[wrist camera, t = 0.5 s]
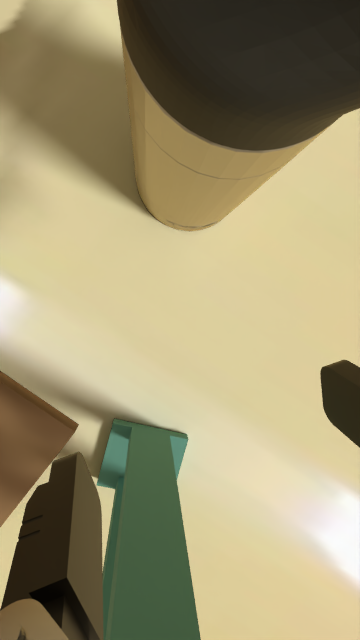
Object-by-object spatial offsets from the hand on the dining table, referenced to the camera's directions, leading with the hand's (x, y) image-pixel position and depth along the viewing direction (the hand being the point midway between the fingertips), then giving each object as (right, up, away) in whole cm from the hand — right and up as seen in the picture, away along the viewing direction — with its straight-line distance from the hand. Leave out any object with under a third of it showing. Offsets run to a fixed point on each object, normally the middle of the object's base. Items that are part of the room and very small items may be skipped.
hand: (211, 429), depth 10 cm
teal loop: (-5, -9, +20) cm, 23 cm away
